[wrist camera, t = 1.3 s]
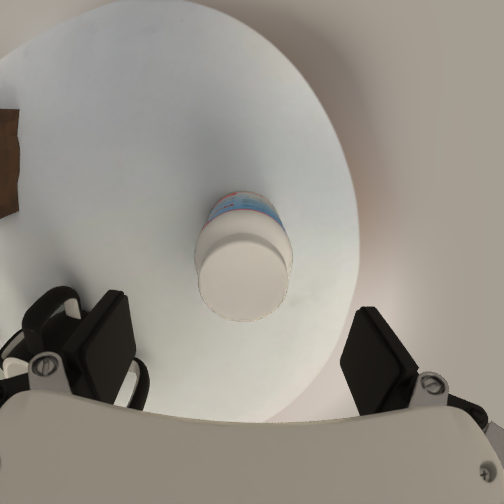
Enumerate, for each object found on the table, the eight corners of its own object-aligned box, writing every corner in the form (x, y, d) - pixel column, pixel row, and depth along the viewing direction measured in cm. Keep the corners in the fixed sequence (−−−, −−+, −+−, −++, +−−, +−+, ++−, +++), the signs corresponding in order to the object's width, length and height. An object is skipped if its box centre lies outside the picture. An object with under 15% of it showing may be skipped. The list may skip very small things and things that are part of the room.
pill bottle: (221, 180, 23) (200, 208, 12) (288, 203, 24) (323, 249, 13) (201, 244, 25) (172, 314, 14) (264, 264, 26) (277, 343, 15)
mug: (94, 389, 32) (66, 448, 21) (25, 307, 27) (-23, 357, 16) (172, 365, 30) (151, 448, 19) (88, 256, 25) (19, 319, 14)
